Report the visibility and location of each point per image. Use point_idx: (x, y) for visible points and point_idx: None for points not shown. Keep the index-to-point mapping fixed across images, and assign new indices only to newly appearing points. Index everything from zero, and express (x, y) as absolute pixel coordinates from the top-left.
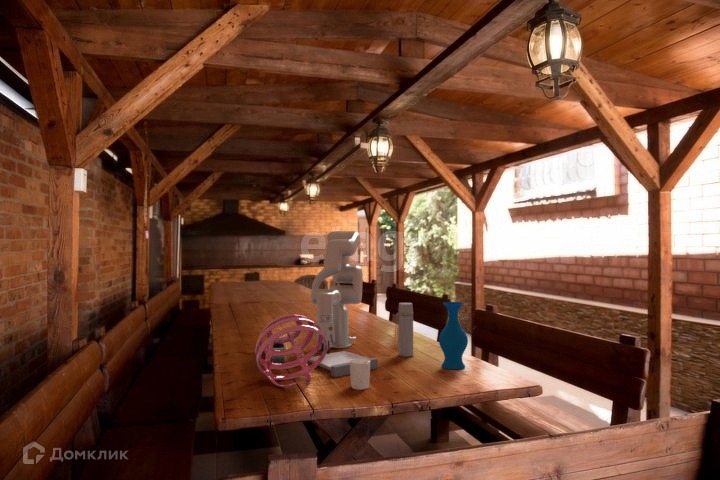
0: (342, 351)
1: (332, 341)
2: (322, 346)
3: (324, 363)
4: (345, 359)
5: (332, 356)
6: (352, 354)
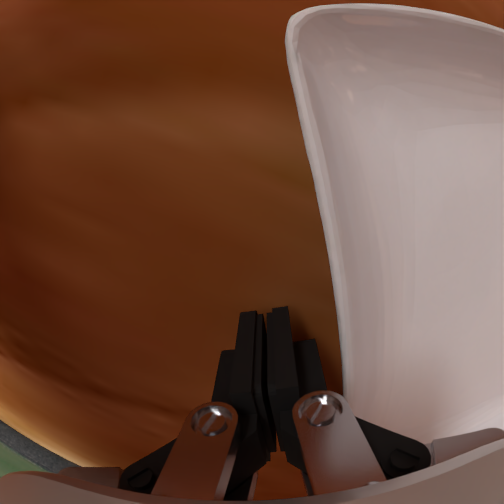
0: (293, 59)
1: (486, 488)
2: (250, 484)
3: (453, 394)
4: (481, 154)
5: (373, 291)
6: (492, 42)
